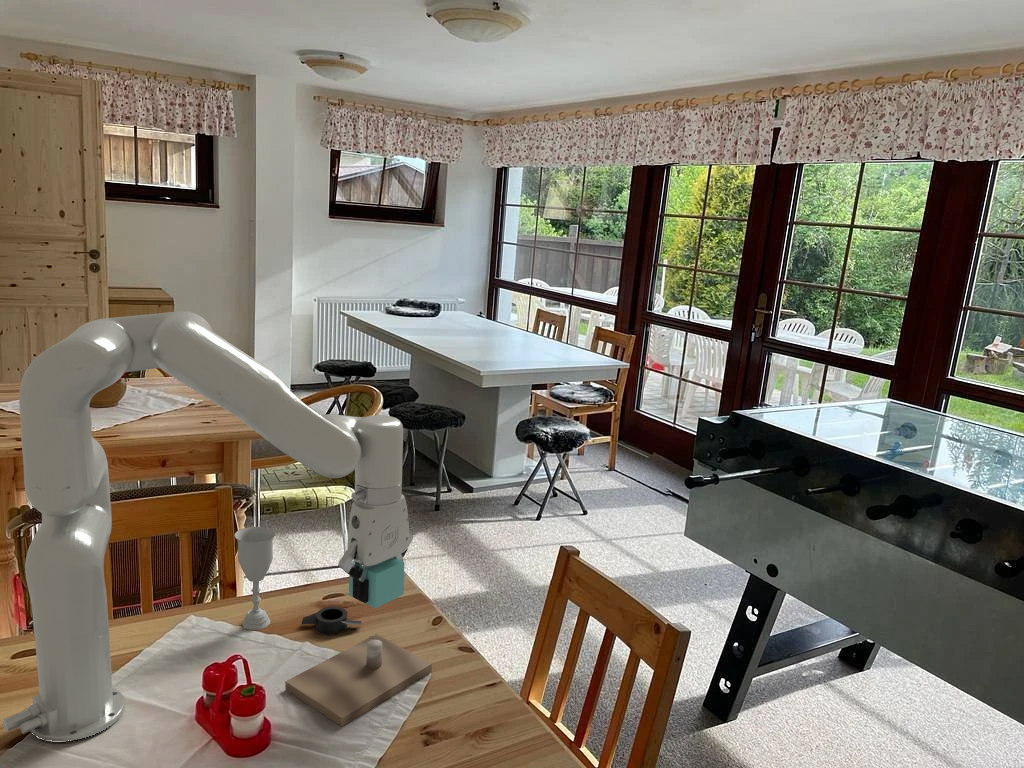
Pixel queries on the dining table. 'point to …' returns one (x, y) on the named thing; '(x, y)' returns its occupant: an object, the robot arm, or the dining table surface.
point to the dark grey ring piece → (330, 620)
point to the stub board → (358, 679)
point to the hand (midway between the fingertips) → (376, 591)
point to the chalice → (255, 568)
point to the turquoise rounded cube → (383, 582)
